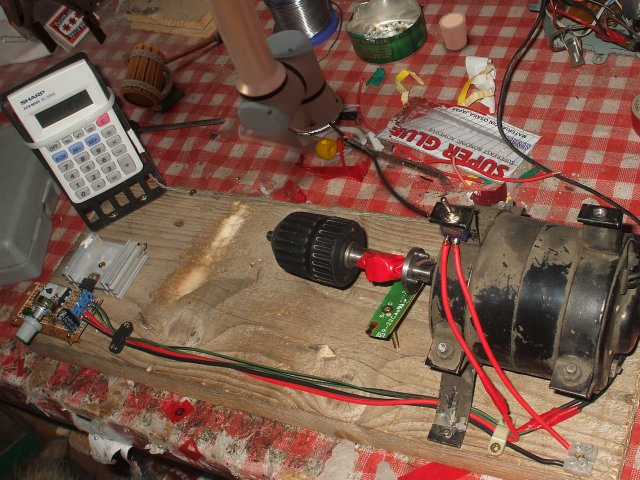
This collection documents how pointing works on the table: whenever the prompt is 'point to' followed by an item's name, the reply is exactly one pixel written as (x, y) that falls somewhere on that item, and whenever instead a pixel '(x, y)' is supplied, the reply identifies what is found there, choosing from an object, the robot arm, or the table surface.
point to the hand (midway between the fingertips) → (78, 44)
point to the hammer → (182, 54)
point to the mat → (169, 99)
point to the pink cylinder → (454, 30)
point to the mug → (146, 78)
